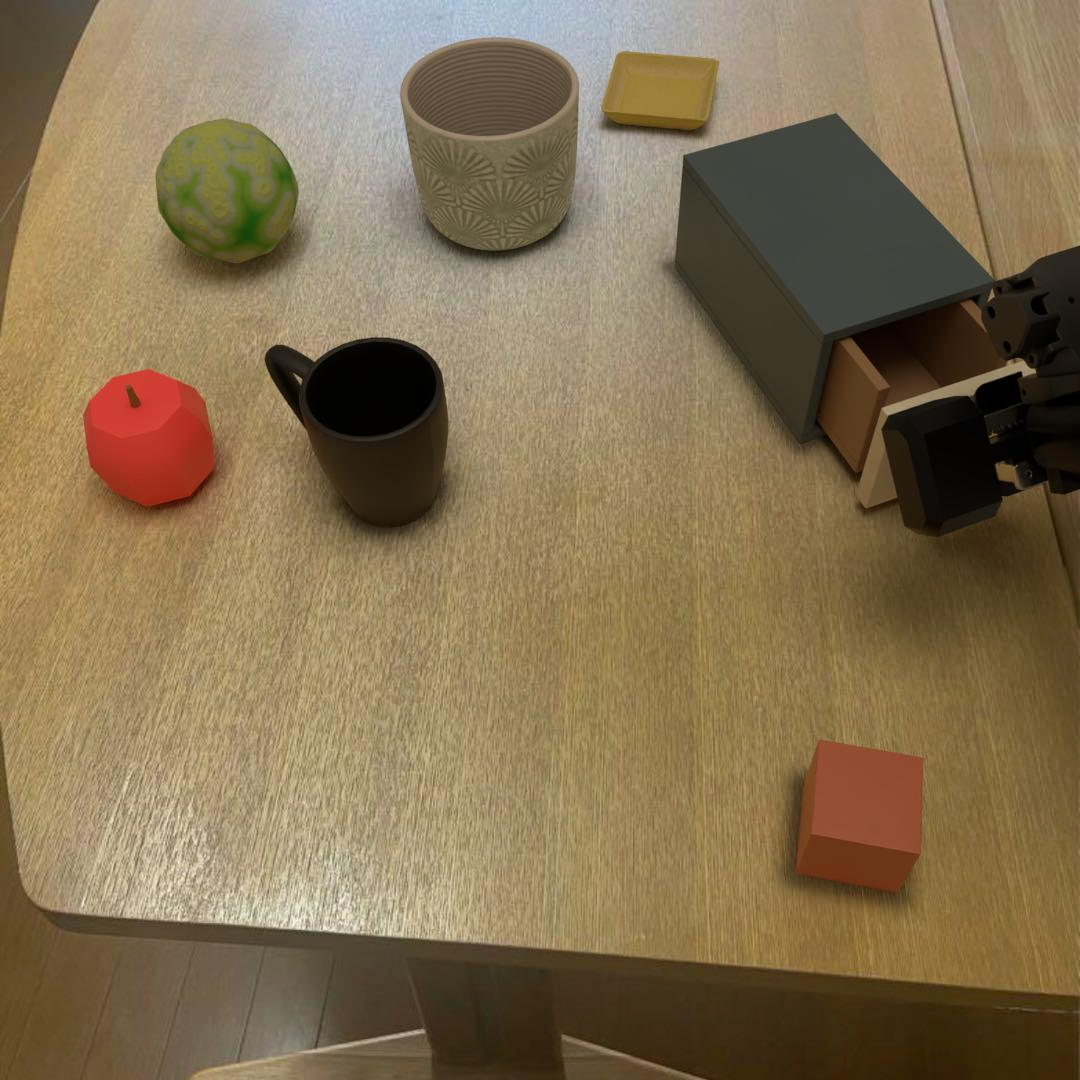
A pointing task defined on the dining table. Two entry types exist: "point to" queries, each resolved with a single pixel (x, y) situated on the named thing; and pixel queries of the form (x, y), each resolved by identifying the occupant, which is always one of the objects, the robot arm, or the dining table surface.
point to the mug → (371, 422)
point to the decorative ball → (226, 190)
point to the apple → (149, 437)
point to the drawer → (902, 382)
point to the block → (861, 816)
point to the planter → (493, 139)
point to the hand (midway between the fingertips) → (966, 421)
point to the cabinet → (809, 254)
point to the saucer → (660, 90)
